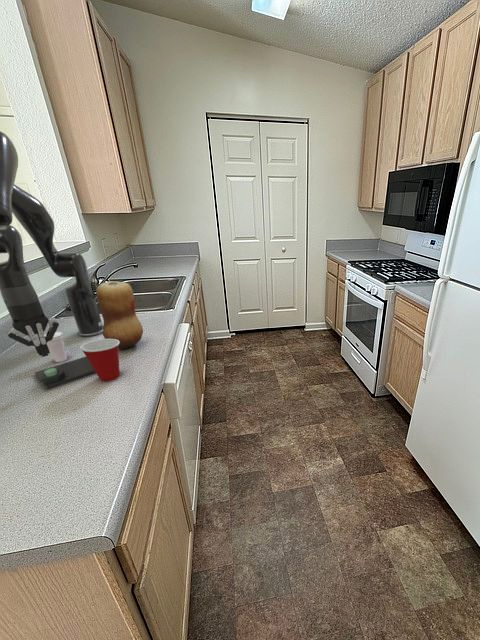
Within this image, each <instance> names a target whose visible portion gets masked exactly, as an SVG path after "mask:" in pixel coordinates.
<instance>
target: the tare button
mask: <svg viewBox="0 0 480 640" xmlns="http://www.w3.org/2000/svg"><path fill="white" fill-rule="evenodd" d="M44 373H45V375H46V377H50V376H54V375H56V374H58V372H57V369H56V368H51V369H48V370H46V371H45V372H44Z"/></svg>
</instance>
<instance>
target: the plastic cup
mask: <svg viewBox="0 0 480 640" xmlns="http://www.w3.org/2000/svg"><path fill="white" fill-rule="evenodd" d="M119 343H120V342H119V340H116V339H105V338H100V339H94V340H90V341H87V342H85V343H82V344H81V345H80V346H79V349H80V351H81V352H82V353H83V354H84V355H85V357H87V358H88V360H89V362H90V364H91V365H92V367H93V369H94V371H95V372H96V373H95V374H96V376H97V377H98V379H99V380H100V381H101V382H111V381H114V380H116V379H118V378H119V377H120V373H121V372H120V359H119V358H120V357H119V349H118V348H119V347H118V346H119Z"/></svg>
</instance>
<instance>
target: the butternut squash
mask: <svg viewBox="0 0 480 640" xmlns="http://www.w3.org/2000/svg"><path fill="white" fill-rule="evenodd" d="M96 298H97V304H98V305H97V307H98V310H99V312H100V315H101V316H102V319H103V332H102V336H103V339H116V340H119V342H120V343H119V346H118V347H119V348H118V350H125V349H127V348H133V347H135V346H136V344H138V343H139V342H140V341H141V340H142V338H143V334H144V328H143V324H142V323H141V321H140V319H139V318H138V316H137V313H136V300H135V295H134V291H133V288H132V287H131V285H130V284H129V283H127V282H124V281H111V280H109V281H105V282H102V283H100V284H99V285H98V286H97V288H96Z"/></svg>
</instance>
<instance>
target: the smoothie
mask: <svg viewBox="0 0 480 640" xmlns="http://www.w3.org/2000/svg"><path fill="white" fill-rule="evenodd" d="M47 327H48V329H49V328H50V327H49V326H48V325H47ZM46 334H47V333H44V336H46ZM63 337H64V334H63V332H61V331H56V332H55V334H54V337H53V339H52V340H51V341H48V342H47V346H48V349H49V351H50V353H49V354H50V355H51V358H52V359H53V361H54V362H55V363H61V362H65V361H66V360H68V356H67V351H66V347H65V342H64V338H63Z"/></svg>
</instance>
